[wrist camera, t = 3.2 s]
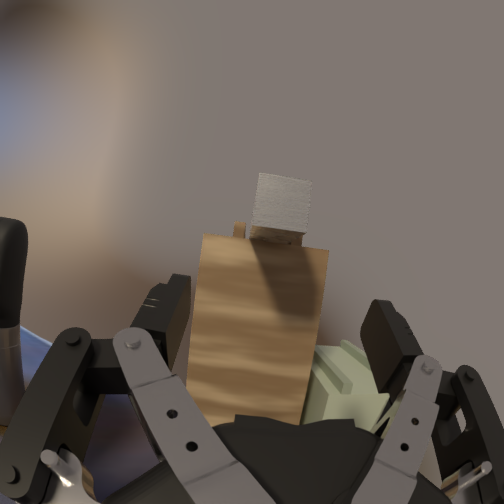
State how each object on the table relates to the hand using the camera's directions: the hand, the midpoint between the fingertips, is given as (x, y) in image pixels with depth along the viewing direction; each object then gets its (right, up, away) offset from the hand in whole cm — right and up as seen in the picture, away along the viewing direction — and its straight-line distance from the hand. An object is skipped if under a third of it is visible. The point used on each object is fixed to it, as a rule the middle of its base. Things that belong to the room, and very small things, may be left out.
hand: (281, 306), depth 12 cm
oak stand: (-5, -31, +21) cm, 37 cm away
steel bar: (0, +3, +18) cm, 18 cm away
